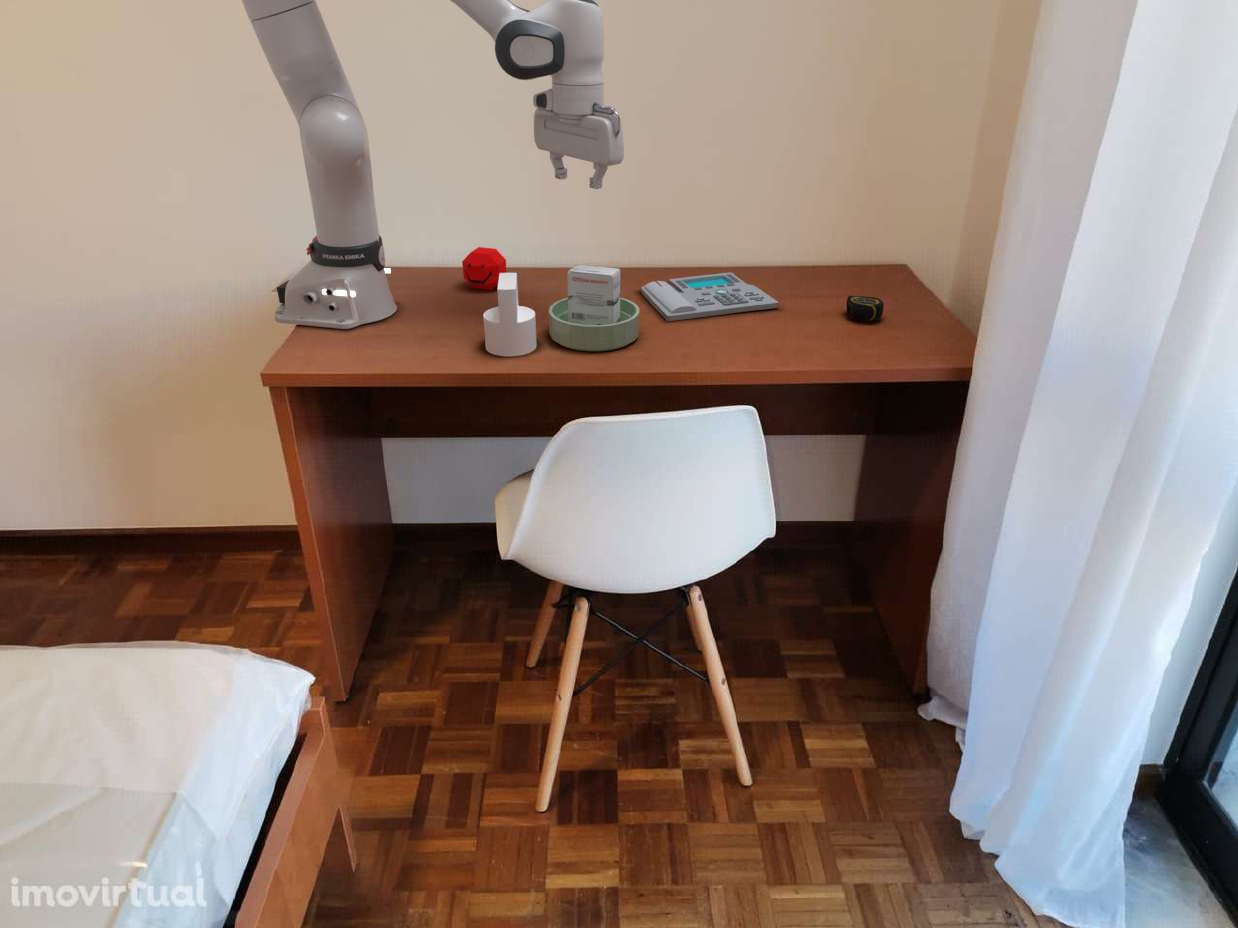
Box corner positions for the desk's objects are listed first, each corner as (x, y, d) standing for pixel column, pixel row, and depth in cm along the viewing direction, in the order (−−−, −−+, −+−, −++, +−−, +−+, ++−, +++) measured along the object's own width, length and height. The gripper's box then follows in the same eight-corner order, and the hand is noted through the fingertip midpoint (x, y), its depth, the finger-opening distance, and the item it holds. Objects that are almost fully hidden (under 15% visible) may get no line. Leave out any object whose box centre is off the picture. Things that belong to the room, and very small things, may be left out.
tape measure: (881, 314, 175) (884, 295, 173) (881, 326, 169) (884, 307, 168) (845, 310, 177) (847, 292, 175) (844, 323, 171) (847, 304, 169)
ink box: (620, 330, 165) (621, 267, 159) (613, 339, 161) (613, 275, 155) (576, 325, 167) (575, 262, 161) (567, 334, 163) (566, 271, 157)
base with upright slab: (486, 337, 163) (482, 273, 157) (536, 336, 164) (534, 272, 158) (484, 357, 156) (479, 290, 150) (536, 355, 156) (533, 289, 150)
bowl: (545, 352, 158) (544, 325, 155) (554, 319, 172) (553, 293, 169) (638, 354, 157) (638, 327, 155) (639, 320, 171) (639, 295, 169)
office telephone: (668, 309, 169) (633, 277, 186) (667, 322, 171) (633, 289, 187) (779, 295, 176) (736, 265, 192) (778, 308, 177) (735, 277, 193)
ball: (459, 290, 185) (456, 254, 181) (476, 278, 192) (473, 243, 188) (495, 294, 183) (493, 258, 179) (511, 282, 190) (509, 246, 186)
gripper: (633, 106, 150) (631, 191, 156) (554, 92, 162) (555, 171, 169) (605, 110, 146) (604, 197, 153) (526, 95, 158) (529, 176, 165)
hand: (578, 183), depth 161 cm, fingers open, 8 cm apart
